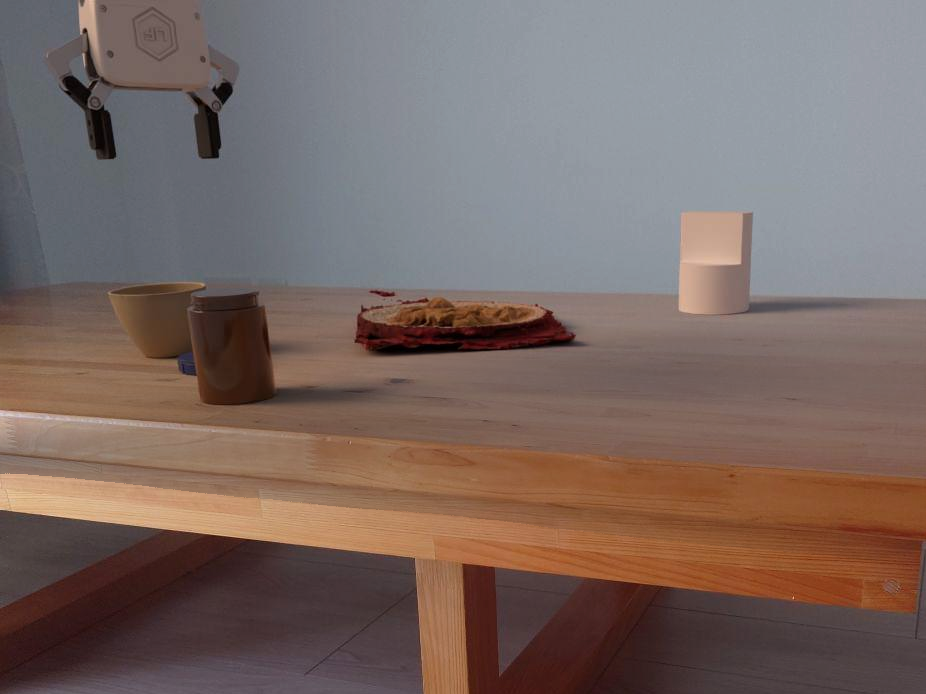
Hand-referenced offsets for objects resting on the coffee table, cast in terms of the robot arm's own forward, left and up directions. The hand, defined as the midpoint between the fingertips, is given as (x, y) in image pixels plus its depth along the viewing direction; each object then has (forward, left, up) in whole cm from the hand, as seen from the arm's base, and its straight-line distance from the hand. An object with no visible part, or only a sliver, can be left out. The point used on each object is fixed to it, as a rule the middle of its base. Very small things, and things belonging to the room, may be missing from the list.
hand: (159, 158), depth 93 cm
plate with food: (+33, -1, -20) cm, 39 cm away
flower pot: (+3, +13, -20) cm, 24 cm away
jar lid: (+3, +1, -19) cm, 19 cm away
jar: (-1, -13, -20) cm, 24 cm away
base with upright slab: (+65, -13, -20) cm, 69 cm away
